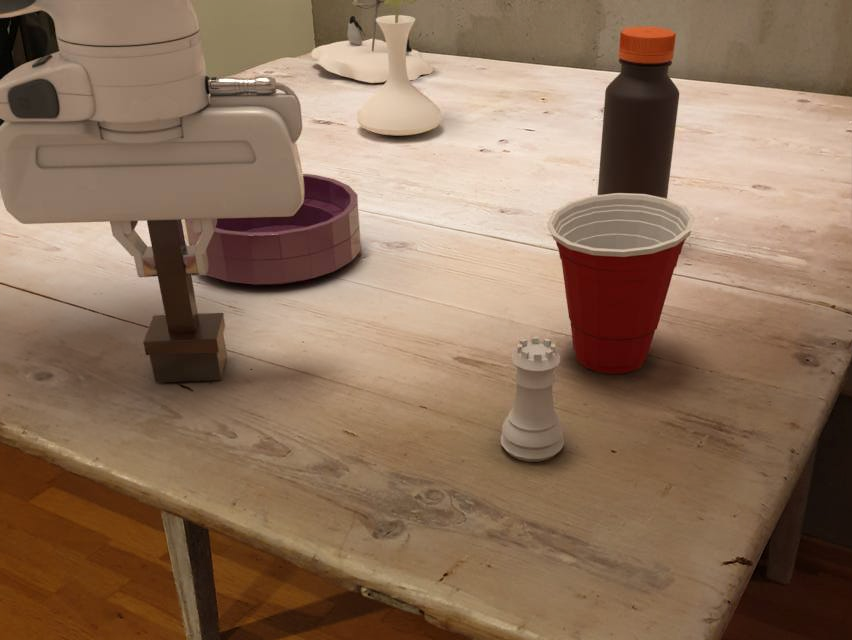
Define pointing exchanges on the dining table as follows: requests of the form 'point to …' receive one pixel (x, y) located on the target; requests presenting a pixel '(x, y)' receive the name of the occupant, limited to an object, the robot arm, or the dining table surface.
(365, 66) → the figurine
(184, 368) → the brush
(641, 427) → the dining table surface
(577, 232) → the plastic cup
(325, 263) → the bowl
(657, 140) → the bottle
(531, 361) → the rook chess piece
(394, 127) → the flower in vase
